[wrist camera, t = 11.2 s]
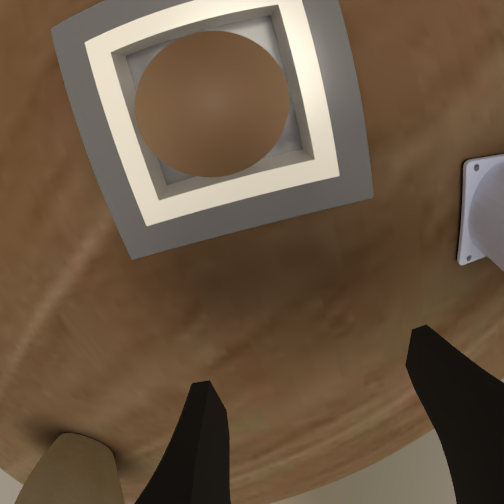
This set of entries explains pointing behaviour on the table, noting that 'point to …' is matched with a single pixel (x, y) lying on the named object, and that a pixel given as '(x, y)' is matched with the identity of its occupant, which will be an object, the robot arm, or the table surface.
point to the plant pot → (73, 474)
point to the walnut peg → (212, 104)
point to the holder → (235, 185)
